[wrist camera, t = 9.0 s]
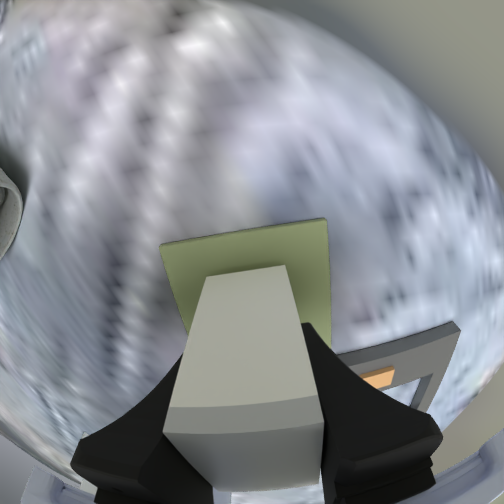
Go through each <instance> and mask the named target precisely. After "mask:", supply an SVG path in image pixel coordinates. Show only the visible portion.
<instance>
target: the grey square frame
mask: <svg viewBox="0 0 504 504" xmlns="http://www.w3.org/2000/svg"><path fill="white" fill-rule="evenodd" d="M460 332H461V330H460V329H459V328H458V326H457V325H456V324H455V323H454V322H450V323H447V324H445V325H442V326H439V327H436V328H433V329H430V330H428V331H425V332H422V333H419V334H415V335H412V336H409V337H406V338H403V339H399V340H396V341H392V342H389V343H385V344H382V345H378V346H374V347H370V348H366V349H362V350H358V351H354V352H349V353H345V354H341V355H337V356H338V357H339V358H340V359H341V360H342V361H343V362H344V363H345V364H346V365H347V366H348V367H349V368H350V369H351V370H352V371H354V372H355V373H356V374H357V375H358V376H360V377H361V378H362V379H364V380H365V381H366V382H368V383H369V384H370V385H372V386H373V387H375V388H376V389H378V390H380V391H384V390H387V389H390V388H393V387H396V386H399V385H402V384H405V383H408V382H411V381H413V380H416V379H419V378H422V379H421V381H420V384H419V386H418V389H417V391H416V394H415V396H414V399H413V401H412V403H411V405H410V407H411V408H414V409H417V410H419V411H422V412H424V413H426V411H427V410H428V408H429V406H430V404H431V402H432V400H433V398H434V396H435V394H436V392H437V390H438V388H439V385H440V383H441V381H442V379H443V377H444V374H445V372H446V370H447V367H448V365H449V362H450V360H451V357H452V355H453V352H454V349H455V347H456V344H457V341H458V338H459V335H460Z"/></svg>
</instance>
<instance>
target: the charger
mask: <svg viewBox="0 0 504 504" xmlns="http://www.w3.org/2000/svg"><path fill="white" fill-rule="evenodd" d="M323 431H324V419H323V415H322V410H321V406H320V402H319V397H318V393H317V389H316V384H315V380H314V376H313V372H312V368H311V363H310V359H309V355H308V351H307V347H306V343H305V339H304V335H303V331H302V327H301V323H300V319H299V316H298V312H297V308H296V304H295V300H294V296H293V293H292V289H291V285H290V281H289V278H288V274H287V270H286V267H285V265H281V266H274V267H268V268H261V269H255V270H249V271H242V272H235V273H229V274H222V275H215V276H208V277H206V280H205V283H204V286H203V289H202V292H201V296H200V299H199V302H198V305H197V309H196V312H195V315H194V319H193V322H192V325H191V329H190V332H189V336H188V339H187V343H186V346H185V350H184V353H183V357H182V360H181V364H180V367H179V371H178V375H177V378H176V382H175V386H174V389H173V393H172V397H171V401H170V405H169V408H168V412H167V416H166V420H165V424H164V428H163V433H164V435H165V436H166V437H167V438H168V439H169V441H170V442H171V443H172V444H173V445H174V446H175V448H176V449H177V450H178V451H179V452H180V453H181V454H182V455H183V457H184V458H185V459H186V460H187V461H188V462H189V463H190V464H191V465H192V466H193V467H194V468H195V469H196V470H197V471H198V472H199V473H200V474H201V475H202V476H203V477H204V478H205V479H206V480H207V481H208V482H209V483H210V484H211V485H212V486H213V487H214V488H215V489H216V490H217V491H218V492H247V491H267V490H278V489H288V488H296V487H303V486H309V485H315V484H319V476H320V467H321V456H322V445H323Z"/></svg>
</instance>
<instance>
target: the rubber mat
mask: <svg viewBox="0 0 504 504" xmlns="http://www.w3.org/2000/svg"><path fill="white" fill-rule="evenodd" d="M159 250H160V254H161V257H162V260H163V264H164V267H165V270H166V273H167V276H168V279H169V283H170V286H171V289H172V292H173V295H174V298H175V301H176V304H177V306H178V309H179V312H180V315H181V318H182V320H183V323H184V326H185V329H186V331H187V334H188V336H189V332H190V329H191V325H192V322H193V319H194V315H195V312H196V309H197V305H198V302H199V299H200V296H201V292H202V289H203V286H204V283H205V280H206V277H208V276H215V275H222V274H229V273H235V272H242V271H249V270H255V269H261V268H268V267H274V266H281V265H285V267H286V270H287V274H288V278H289V281H290V285H291V289H292V293H293V296H294V300H295V304H296V308H297V312H298V316H299V319H300V323H306V322H309V323H311V324H312V326H313V327H314V329H315V330H316V332H317V333H318V334H319V336H320V337H321V338H322V339H323V341H324V342H325V343H326V344H327V345H328V347H329V348H330V349H331V289H330V264H329V246H328V232H327V220H326V219H325V218H320V219H313V220H307V221H300V222H293V223H286V224H280V225H273V226H267V227H261V228H254V229H248V230H242V231H236V232H230V233H223V234H218V235H212V236H206V237H200V238H194V239H188V240H183V241H177V242H171V243H166V244H161V245H160V246H159Z"/></svg>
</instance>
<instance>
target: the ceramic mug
mask: <svg viewBox="0 0 504 504" xmlns="http://www.w3.org/2000/svg"><path fill="white" fill-rule="evenodd" d="M22 211H23V202H22V196H21V193H20V191H19V189H18V188H17V186H16V185H15V183H13V182H12V181H11V180H10V179H9V178H8V176H7V175H6V174H5V173H4V171H3V170H2V169H1V168H0V260H1V258H2V257H3V256H4V254H5V253H6V251H7V250H8V248H9V246H10V245H11V243H12V241H13V239H14V237H15V235H16V232H17V230H18V227H19V224H20V220H21V216H22Z"/></svg>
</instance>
